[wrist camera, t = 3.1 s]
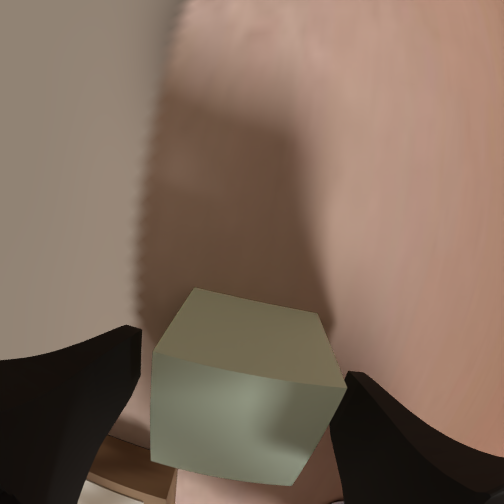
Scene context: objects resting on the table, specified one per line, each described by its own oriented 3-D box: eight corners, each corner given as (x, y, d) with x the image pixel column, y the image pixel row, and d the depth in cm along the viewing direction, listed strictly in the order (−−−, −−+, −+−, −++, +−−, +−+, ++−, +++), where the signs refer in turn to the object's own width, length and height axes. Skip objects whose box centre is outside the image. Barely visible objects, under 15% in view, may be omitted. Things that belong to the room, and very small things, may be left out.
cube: (316, 312, 10) (347, 388, 6) (284, 402, 11) (291, 485, 7) (195, 286, 10) (152, 351, 6) (181, 382, 11) (150, 460, 7)
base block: (178, 458, 12) (165, 501, 9) (174, 509, 14) (166, 540, 11) (54, 409, 12) (29, 440, 9) (76, 473, 14) (62, 499, 11)
